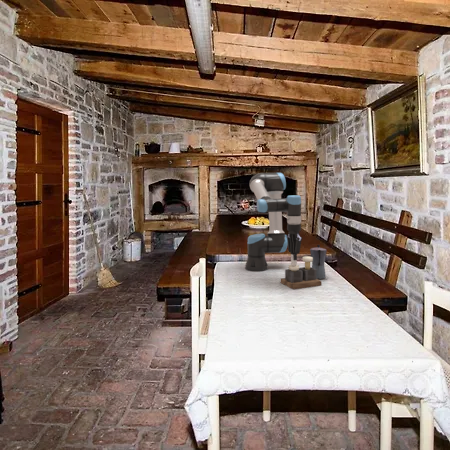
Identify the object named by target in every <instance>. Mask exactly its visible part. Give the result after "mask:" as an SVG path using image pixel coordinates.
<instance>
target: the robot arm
mask: <svg viewBox="0 0 450 450" xmlns="http://www.w3.org/2000/svg"><path fill="white" fill-rule="evenodd" d="M248 185H249V188H250V190H251V192H252V193H254V196H255V197H256V199H257V201H256V209H257V210H256V211H257V212H259V213H268V221H269V222H268V225H269V226H268V227H269V231H268V232H267V235H266V234H265V233H255V234H251V235H249V236H248V237H247V259H246V262H245V265H244V266H245V267H244V268H245V270H246V271H250V272H265V271H267V270H269V267H268V265H269V264H268V263H267V259H266V254H275V253H276V254H277V253H278V254H279V253H284V252H286V251H287V250H288V253H290V265H291V266H297V265H298V264H297V263H298V261H297V260H298V255H299V254H300V252H301V246H302V240H303V237H301V236H300V232H301V231H302V196H301V195H297V194H296V195H287V197H286V198H282V195H283V193H284V190H286V188H287V182H286V177H285V175H284V173H282V172H260V173H256V174H254V175H253V176H252V177H251V179H250V180H249V184H248ZM282 212H285V213H286V215H287V216H286V217H287V218H286V222H287V225H286V229H287V230H286V231H288V234H285V231H284V230H283V216H282V215H283V214H282ZM287 248H288V249H287Z"/></svg>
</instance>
